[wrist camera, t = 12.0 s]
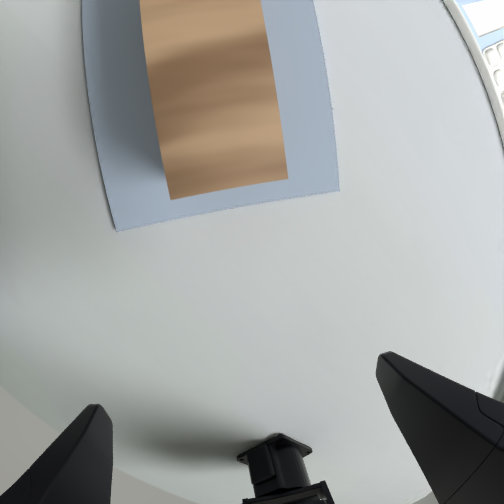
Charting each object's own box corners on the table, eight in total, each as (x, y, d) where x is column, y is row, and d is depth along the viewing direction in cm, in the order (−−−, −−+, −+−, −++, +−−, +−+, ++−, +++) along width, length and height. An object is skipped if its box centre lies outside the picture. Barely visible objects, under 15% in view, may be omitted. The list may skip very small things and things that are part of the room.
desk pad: (337, 190, 19) (339, 191, 18) (117, 230, 18) (116, 231, 17) (296, -56, 12) (297, -58, 11) (83, -24, 11) (82, -26, 10)
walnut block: (288, 179, 13) (244, -72, 8) (170, 200, 12) (136, -56, 7) (266, 166, 17) (234, -29, 12) (180, 181, 17) (151, -16, 12)
